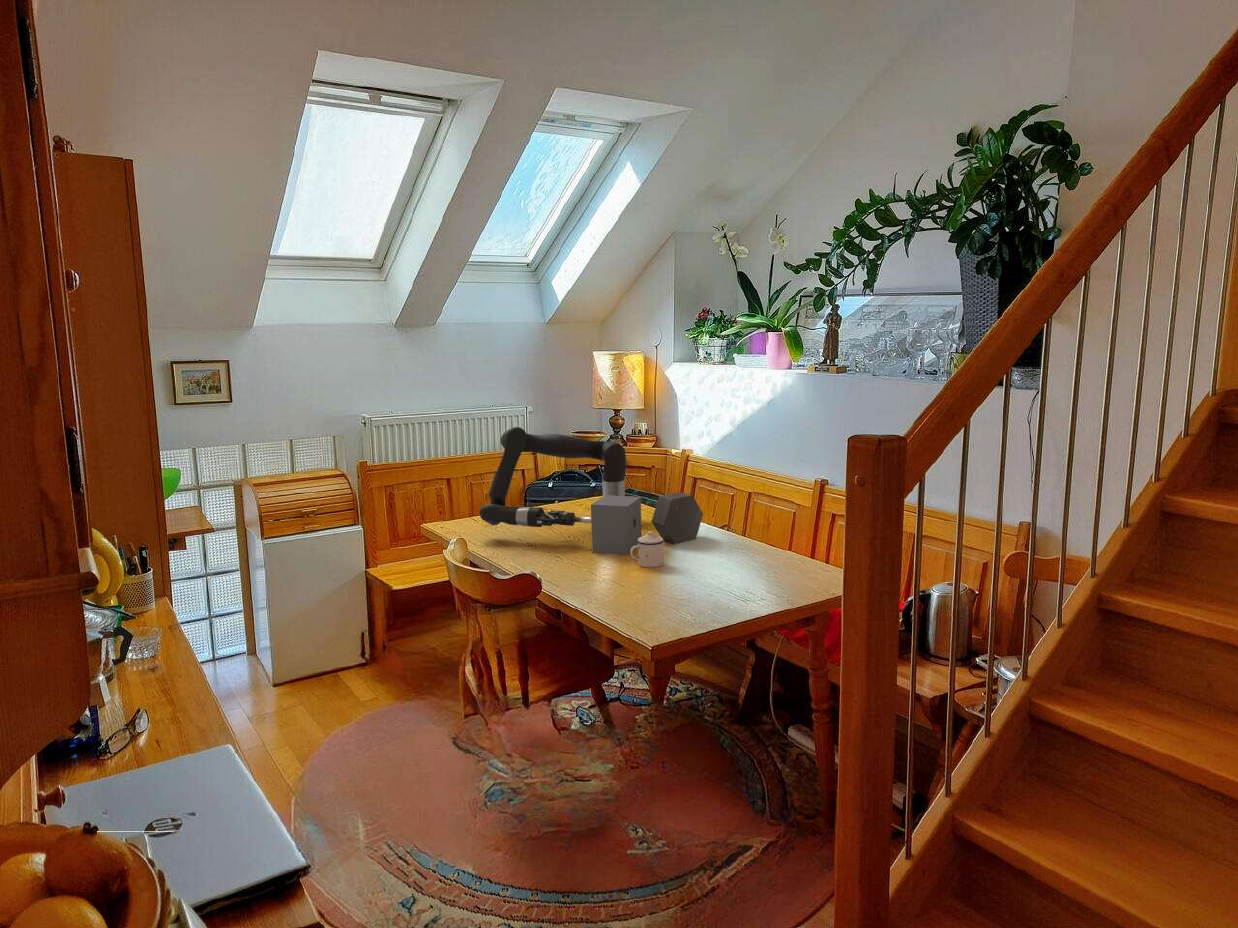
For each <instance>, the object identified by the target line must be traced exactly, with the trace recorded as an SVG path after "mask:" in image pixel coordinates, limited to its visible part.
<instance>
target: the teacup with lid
mask: <svg viewBox="0 0 1238 928" xmlns="http://www.w3.org/2000/svg"><path fill="white" fill-rule="evenodd" d="M664 541H665V540H663V538H662V537H661V536H660V535H656V534H654V531H650V530H649V531H647V533H646V534H645V535H642V537H640V538H638V541H637V542H638V545H636V546H633V547H632V548H631V550H630V554H629V555H630V556H631V557H632V559H633V560H637V561H638V565H639V566H640V567H643V568H649V569H651V568H660V567H661V566H663V565H664ZM635 548H636V549H637V551H638V554H637V555H638V557H637V556H635V555H634V551H635V550H634V549H635ZM633 550H634V551H633Z"/></svg>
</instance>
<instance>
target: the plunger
mask: <svg viewBox="0 0 1238 928" xmlns="http://www.w3.org/2000/svg"><path fill="white" fill-rule="evenodd" d="M558 518H562V519H565V524H564V525H563V526H567V527H569V526H570V527H573V526H574V525H575V523H588V524H590V523H591V517H590V516H589V517H587V516H585V517H584V516H576V514H575V512H569V511H567V512H566V511H565V512H560V513H559V516H558Z"/></svg>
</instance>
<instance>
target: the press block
mask: <svg viewBox="0 0 1238 928" xmlns="http://www.w3.org/2000/svg"><path fill="white" fill-rule="evenodd" d="M590 518H591V546H592V547H591V550H592V553H595V554H596V553H597V554H608V555H609V554H611V555H624V556H629V555H631V554H630V550H631V548H632V547H633V546H636V545H638V542H637V541H638V538H640V537H642V536H643V535H642V497H641V496H629V495H628V496H627V495H626V496H610V495H605V496H604V497H603V496H602V497H601V498H599V499H597V500H596V501H594V502H593V503H591V504H590ZM635 549H637V548H635ZM635 549H634V550H633V552H634V551H635Z"/></svg>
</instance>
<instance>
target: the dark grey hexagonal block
mask: <svg viewBox="0 0 1238 928" xmlns="http://www.w3.org/2000/svg"><path fill="white" fill-rule="evenodd" d="M703 516H704V513H703V511H702V509H701V507H700V506H699V504H698V502H697V501H696V499H695V497H694V496H693V494H687V493H684V492H674V493H669V494H663V495H659V496H658V498H657V503H656V505H655V509H654V511H653V515H652V518H651V521H650V522H651V524H652V525H653V527H654V528H655V530H656V531H657V534H658V536H660V537H662V538H663V540H664V541H665V542H668V543H671V544H674V545H676V544H682V543H686V542H690V541H695V540H696V539H697V536H698V533H699V529H700V527H701V524H702V520H703Z"/></svg>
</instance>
